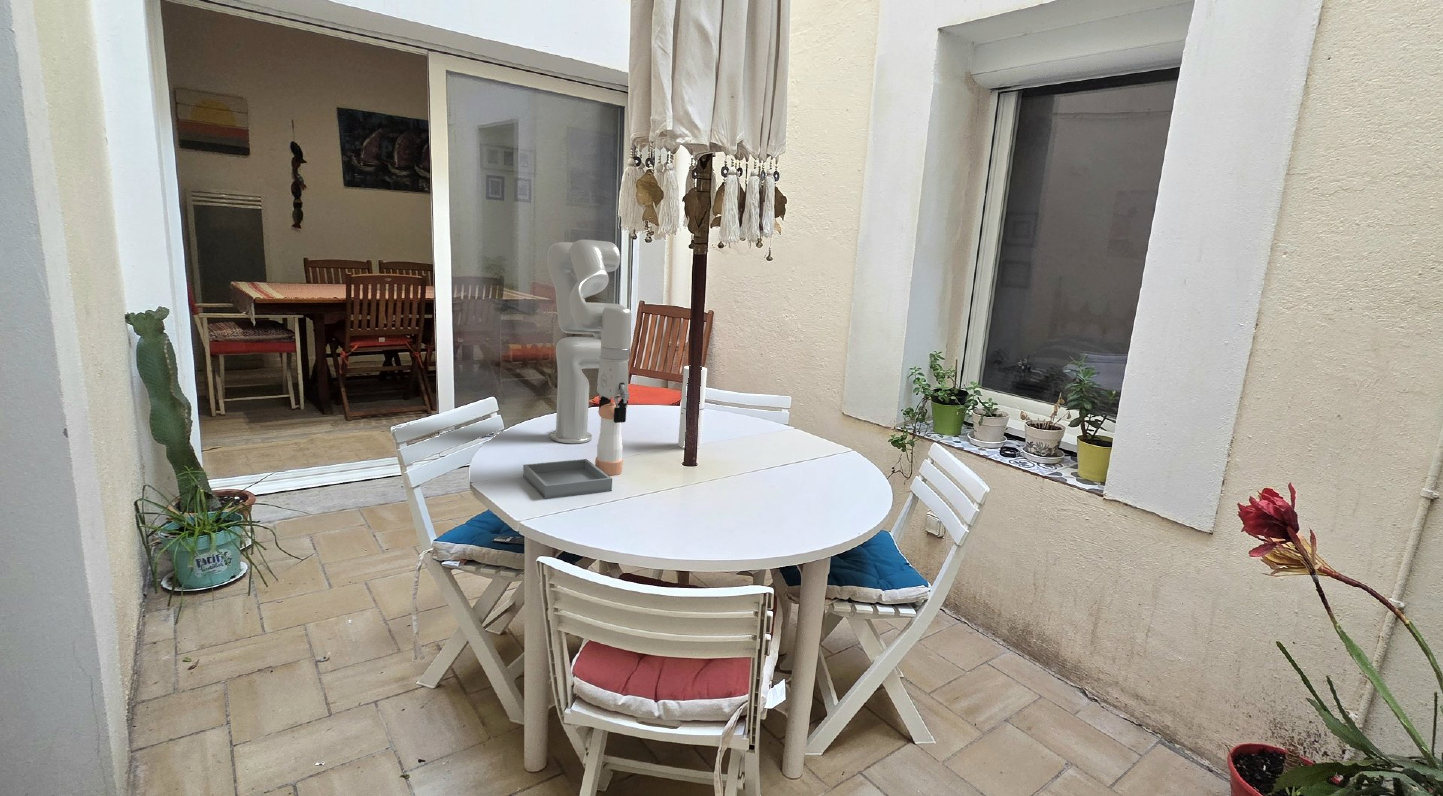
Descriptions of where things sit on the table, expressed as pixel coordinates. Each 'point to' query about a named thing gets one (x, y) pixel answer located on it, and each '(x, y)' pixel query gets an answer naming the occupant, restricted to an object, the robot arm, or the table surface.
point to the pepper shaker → (609, 442)
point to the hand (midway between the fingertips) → (611, 418)
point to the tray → (566, 478)
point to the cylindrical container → (683, 406)
